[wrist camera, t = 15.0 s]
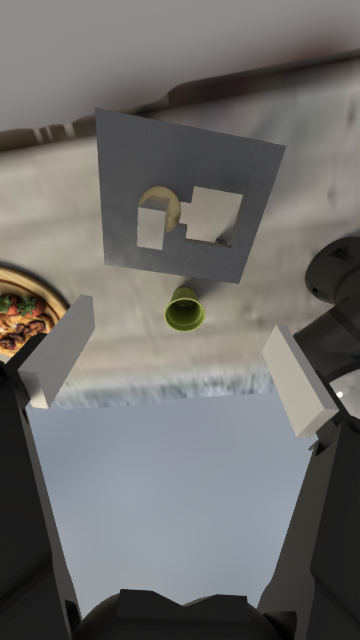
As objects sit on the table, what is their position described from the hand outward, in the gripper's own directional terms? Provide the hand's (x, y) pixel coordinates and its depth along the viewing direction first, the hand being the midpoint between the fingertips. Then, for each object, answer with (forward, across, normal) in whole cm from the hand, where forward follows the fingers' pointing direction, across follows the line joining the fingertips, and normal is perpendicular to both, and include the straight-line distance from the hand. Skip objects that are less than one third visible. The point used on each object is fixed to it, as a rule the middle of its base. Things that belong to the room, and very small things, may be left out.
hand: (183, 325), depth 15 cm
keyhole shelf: (+36, +2, -4) cm, 36 cm away
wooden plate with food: (+36, +42, +32) cm, 64 cm away
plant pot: (+37, -3, +18) cm, 41 cm away
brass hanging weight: (+28, +4, -4) cm, 29 cm away
